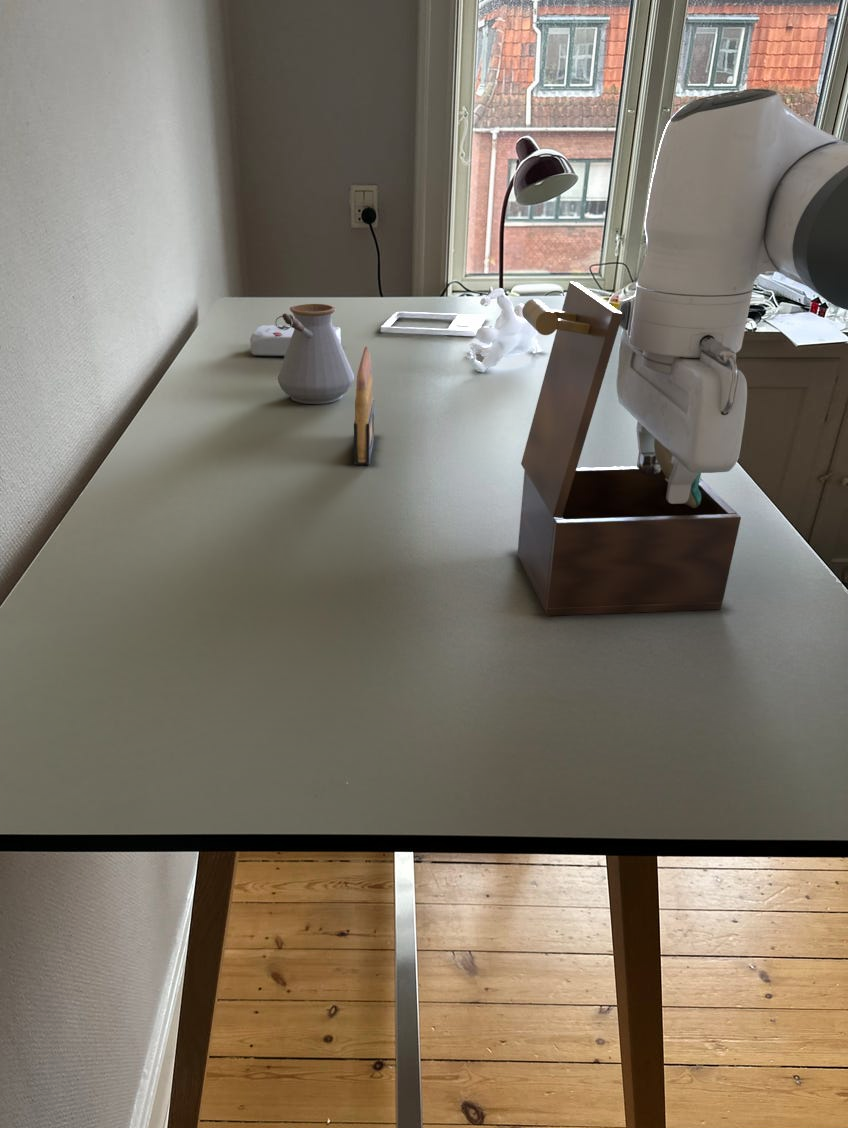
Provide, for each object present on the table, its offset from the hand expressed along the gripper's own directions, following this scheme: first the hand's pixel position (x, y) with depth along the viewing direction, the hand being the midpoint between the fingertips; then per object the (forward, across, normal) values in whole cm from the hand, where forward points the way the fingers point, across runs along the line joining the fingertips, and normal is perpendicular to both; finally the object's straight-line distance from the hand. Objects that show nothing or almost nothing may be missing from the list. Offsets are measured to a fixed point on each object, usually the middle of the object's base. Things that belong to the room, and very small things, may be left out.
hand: (660, 485), depth 81 cm
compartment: (+9, 0, +3) cm, 10 cm away
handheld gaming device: (+9, +91, +33) cm, 97 cm away
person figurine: (+9, +79, -2) cm, 80 cm away
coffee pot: (+9, +58, +31) cm, 66 cm away
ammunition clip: (+9, +38, +24) cm, 46 cm away
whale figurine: (-1, 0, 0) cm, 1 cm away
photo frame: (+9, +109, +6) cm, 110 cm away
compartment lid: (-8, 0, +9) cm, 12 cm away
